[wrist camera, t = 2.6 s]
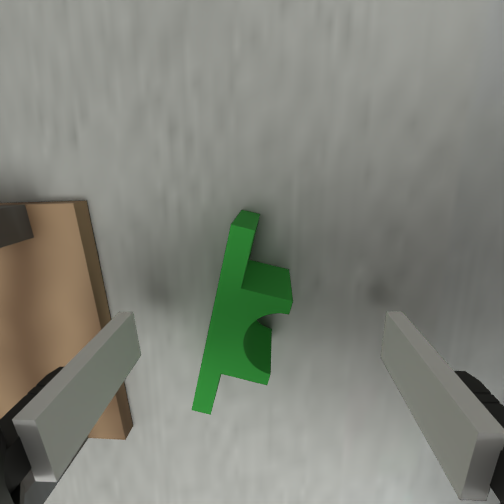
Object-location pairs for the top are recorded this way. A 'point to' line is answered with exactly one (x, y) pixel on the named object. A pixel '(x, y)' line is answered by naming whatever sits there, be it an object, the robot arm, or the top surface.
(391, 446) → the top surface
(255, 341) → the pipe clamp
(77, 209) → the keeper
